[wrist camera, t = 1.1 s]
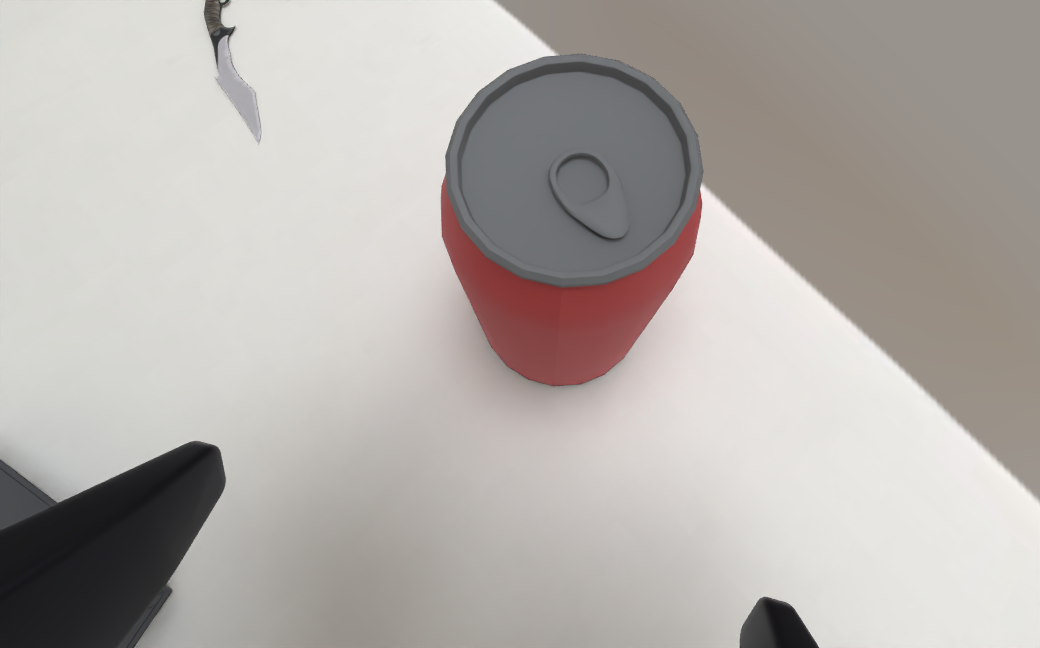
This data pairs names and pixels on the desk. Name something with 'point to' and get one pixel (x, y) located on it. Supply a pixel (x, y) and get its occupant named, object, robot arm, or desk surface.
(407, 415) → the desk surface
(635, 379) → the desk surface
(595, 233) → the beer can
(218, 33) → the knife
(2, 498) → the dark square open box
